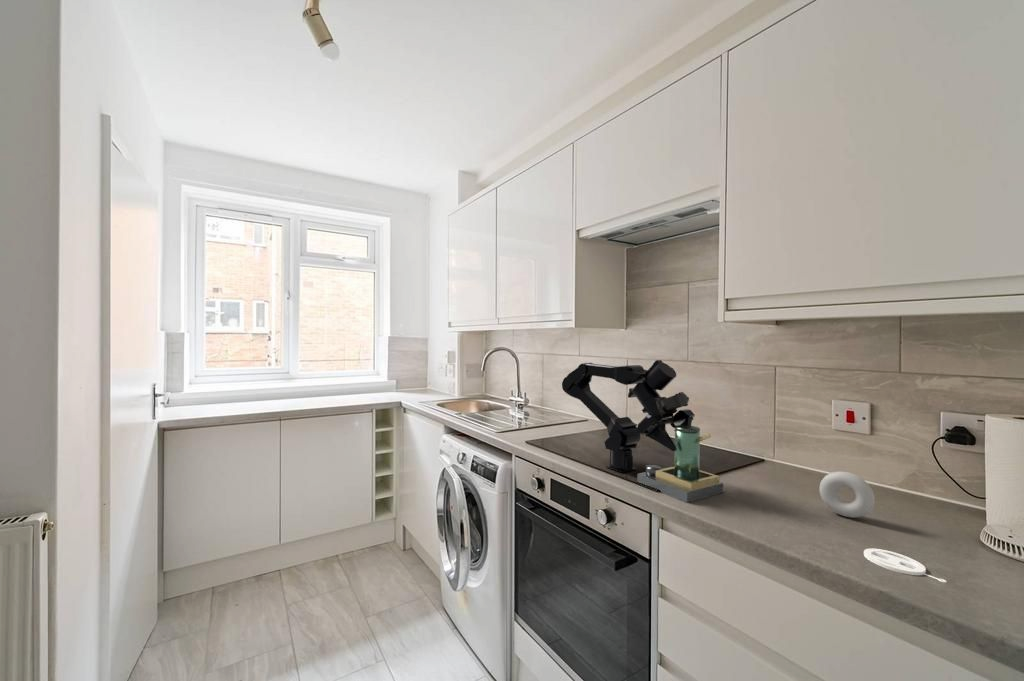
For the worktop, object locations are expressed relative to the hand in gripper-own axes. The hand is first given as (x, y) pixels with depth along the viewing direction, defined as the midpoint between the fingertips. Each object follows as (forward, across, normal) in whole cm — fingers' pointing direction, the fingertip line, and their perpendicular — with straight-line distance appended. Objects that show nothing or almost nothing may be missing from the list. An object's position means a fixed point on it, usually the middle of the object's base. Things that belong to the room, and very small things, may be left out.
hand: (685, 448), depth 110 cm
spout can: (+7, 0, +5) cm, 9 cm away
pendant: (+39, -2, -23) cm, 45 cm away
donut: (+29, +16, -13) cm, 35 cm away
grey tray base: (+6, 0, +9) cm, 11 cm away
